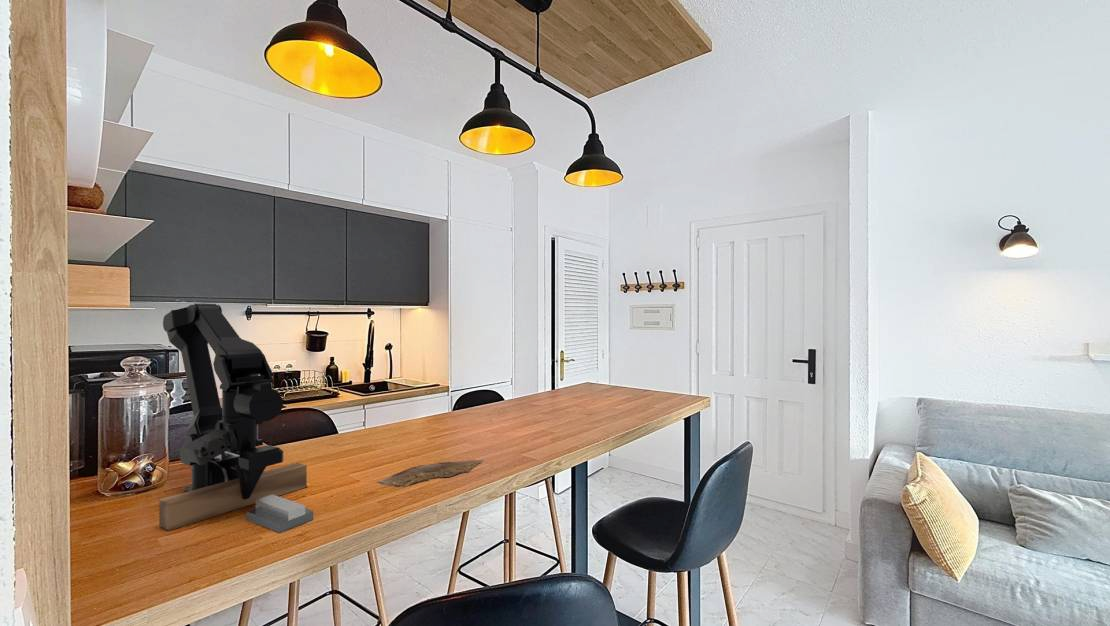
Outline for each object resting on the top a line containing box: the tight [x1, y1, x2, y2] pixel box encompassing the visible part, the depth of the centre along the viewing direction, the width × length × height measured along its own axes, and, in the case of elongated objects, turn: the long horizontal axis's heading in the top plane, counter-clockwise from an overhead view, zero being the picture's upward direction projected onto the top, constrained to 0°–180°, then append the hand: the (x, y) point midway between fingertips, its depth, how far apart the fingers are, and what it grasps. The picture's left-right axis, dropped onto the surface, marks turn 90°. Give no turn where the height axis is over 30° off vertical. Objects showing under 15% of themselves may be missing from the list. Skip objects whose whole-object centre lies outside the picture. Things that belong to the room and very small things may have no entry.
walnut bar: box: [158, 462, 308, 531], centre depth 93 cm, size 4×24×4 cm, turn 148°
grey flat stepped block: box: [246, 494, 314, 534], centre depth 86 cm, size 10×6×3 cm, turn 60°
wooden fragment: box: [376, 459, 484, 488], centre depth 112 cm, size 26×11×1 cm, turn 126°
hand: (240, 496), depth 93 cm, fingers closed on walnut bar, 3 cm apart
